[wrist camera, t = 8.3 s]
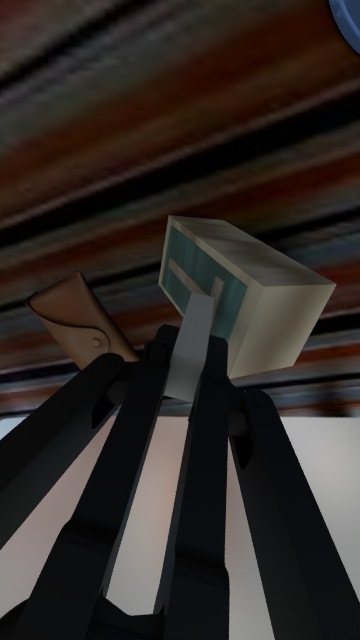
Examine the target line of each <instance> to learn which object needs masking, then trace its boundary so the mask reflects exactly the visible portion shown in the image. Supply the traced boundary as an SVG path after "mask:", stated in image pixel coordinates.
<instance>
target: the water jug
mask: <svg viewBox="0 0 360 640" xmlns="http://www.w3.org/2000/svg"><path fill="white" fill-rule="evenodd" d="M329 4H330V8H331V11H332V14H333V16H334V19H335V21H336V23H337V26H338V28H339V29H340V31H341V33H342V35H343V36H344V38H345V39H346V40H347V42H348V43H349V44H350V45H351V46H352V48H353V49H354V50H355V51H357V52H358V53H359V54H360V0H329Z"/></svg>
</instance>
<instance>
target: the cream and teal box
mask: <svg viewBox="0 0 360 640" xmlns="http://www.w3.org/2000/svg"><path fill="white" fill-rule="evenodd" d="M158 284H159V286H160V287H161V288H162V290H163V291H164V292H165V294H166V295H167V296H168V298H169V299H170V300H171V302H172V303H173V305H174V306H175V307H176V309H177V310H178V311H179V313H180V314H181V315H182V317H183V318H184V315H185V312H186V309H187V306H188V303H189V299H190V296H191V293H192V292H194V293H198V294H202V295H207V296H211V297H215V299H214V306H213V313H212V319H211V326H210V333H209V335H213V336H217V337H221V338H225V340H226V341H227V343H228V368H227V376H228V377H229V379H232V378H236V377H241V376H246V375H251V374H256V373H260V372H265V371H270V370H275V369H280V368H284V367H289V366H293V365H294V363H295V361H296V359H297V357H298V355H299V353H300V352H301V350H302V348H303V346H304V344H305V342H306V340H307V338H308V337H309V335H310V333H311V331H312V329H313V327H314V325H315V324H316V322H317V320H318V318H319V316H320V314H321V312H322V311H323V309H324V307H325V305H326V303H327V301H328V299H329V298H330V296H331V294H332V292H333V290H334V288H335V286H336V284H335V283H334V282H332V281H330V280H328V279H327V278H325V277H323V276H321V275H319V274H318V273H316V272H314V271H312V270H311V269H309V268H307V267H305V266H304V265H302V264H300V263H298V262H297V261H295V260H293V259H291V258H289V257H288V256H286V255H284V254H282V253H281V252H279V251H277V250H275V249H274V248H272V247H270V246H268V245H267V244H265V243H263V242H261V241H259V240H258V239H256V238H254V237H252V236H251V235H249V234H247V233H245V232H244V231H242V230H240V229H238V228H236V227H235V226H233V225H231V224H229V223H228V222H226V221H224V220H216V219H205V218H194V217H183V216H172V215H169V218H168V224H167V231H166V237H165V244H164V250H163V257H162V263H161V270H160V276H159V283H158Z"/></svg>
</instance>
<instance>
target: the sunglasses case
mask: <svg viewBox="0 0 360 640" xmlns="http://www.w3.org/2000/svg"><path fill="white" fill-rule="evenodd" d="M25 303H26V305H27V307H28V308H29V309H30V310H31V311H32V312H33V313H34V314H35V315H36V316H37V317H38V318H39V320H40V321H41V322H42V323H43V325H44V326H45V327H46V329H47V330H48V331H49V332H50V333H51V335H52V336H53V337H54V338H55V340H56V341H57V342H58V343H59V345H60V346H61V347H62V348H63V349H64V350H65V352H66V353H67V354H68V355H69V356H70V357H71V359H72V360H73V361H74V362H75V363H76V364H77V366H78V367H79V368H80V369H81V370H83V369H84V368H85V367H86V366H87V365H88V364H90V363H91V362H92V361H93V360H94V359H95V358H97V357H98V356H99V355H101V354H104V353H116V354H119V355H121V356H122V357H123V358H124V360H125V361H131V362H132V361H139V360H141V359H142V358H141V357H140V356H139V355H138V354H137V353H136V352H135V350H134V349H133V348H132V346H131V345H130V344H129V343H128V342H127V340H126V339H125V337H124V336H123V335H122V333H121V332H120V331H119V329H118V328H117V326H116V325H115V324H114V322H113V321H112V320H111V318H110V317H109V315H108V314H107V313H106V311H105V310H104V309H103V307H102V306H101V304H100V303H99V301H98V300H97V299H96V297H95V296H94V294H93V292H92V291H91V289H90V288H89V286H88V284H87V283H86V280H85V278H84V277H83V276H82V274H81V273H80V272H79V271H74V273H73V274H72V275H71V276H69V277H66V278H65V279H62V280H61V281H59V282H57V283H55V284H54V285H51V286H50V287H48V288H46V289H44V290H42V291H41V292H40V293H38V292H36V293H34V294H33V295H31V296H30V297H28V299H26V301H25Z"/></svg>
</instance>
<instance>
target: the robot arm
mask: <svg viewBox="0 0 360 640" xmlns="http://www.w3.org/2000/svg"><path fill="white" fill-rule="evenodd" d="M214 299H215V297H211V296H207V295H202V294H198V293H194V292H192V293H191V296H190V299H189V303H188V306H187V309H186V312H185V315H184V318H183V321H182V325H181V328H178V327H174V326H170V325H167V324H164V325H162V326H161V327H160V328H159V329H158V331H157V334H156V336H155V338H154V340H152V341H149V342H147V343H146V344H145V346H144V353H143V359H141V360H139V361H132V362H131V361H125V360H124V358H123V357H122V356H121V355H119V354H116V353H104V354H101V355H99V356H98V357H97V358H95V359H94V360H93V361H92V362H91V363H90V364H88V365H87V366H86V367H85V368H84V369H83V370H81V371H80V372H79V373H78V374H77V375H76V376H74V377H73V378H72V379H71V380H70V381H69V382H67V383H66V384H65V385H64V386H63V387H62V388H60V389H59V390H58V391H57V392H56V393H55V394H53V395H52V396H51V397H50V398H49V399H48V400H46V401H45V402H44V403H43V404H42V405H41V406H39V407H38V408H37V409H36V410H35V411H34V412H32V413H31V414H30V415H29V416H28V417H27V418H25V419H24V420H23V421H22V422H21V423H20V424H18V425H17V426H16V427H15V428H14V429H13V430H11V431H10V432H9V433H8V434H7V435H6V436H5V437H3V438H2V439H1V440H0V550H1V549H2V547H3V546H4V545H5V544H6V542H7V541H8V540H9V539H10V538H11V537H12V535H13V534H14V533H15V532H16V531H17V529H18V528H19V527H20V526H21V525H22V523H23V522H24V521H25V520H26V518H27V517H28V516H29V515H30V513H31V512H32V511H33V510H34V509H35V508H36V506H37V505H38V504H39V503H40V502H41V500H42V499H43V498H44V497H45V496H46V494H47V493H48V492H49V491H50V489H51V488H52V487H53V486H54V485H55V483H56V482H57V481H58V480H59V479H60V477H61V476H62V475H63V474H64V472H65V471H66V470H67V469H68V467H70V465H71V464H72V463H73V462H74V460H75V459H76V458H77V457H78V455H79V454H80V453H81V452H82V451H83V450H84V448H85V447H86V446H87V445H88V444H89V442H90V441H91V440H92V439H93V437H94V436H95V435H96V433H98V431H99V430H100V429H101V428H102V427H103V425H104V424H105V423H106V422H107V421H108V419H109V418H110V417H111V416H112V415H113V413H114V412H115V411H116V410H117V409H118V407H119V406H120V404H122V406H121V408H120V410H119V413H118V415H117V417H116V419H115V422H114V424H113V426H112V428H111V430H110V433H109V435H108V437H107V440H106V442H105V444H104V446H103V448H102V451H101V453H100V455H99V457H98V459H97V462H96V464H95V466H94V469H93V471H92V473H91V475H90V477H89V480H88V482H87V484H86V486H85V488H84V491H83V493H82V495H81V497H80V500H79V502H78V504H77V506H76V508H75V511H74V513H73V515H72V517H71V519H70V520H69V521H68V522H67V523H66V524H65V525H64V526H63V528H62V529H61V531H60V533H59V535H58V537H57V539H56V541H55V543H54V545H53V548H52V550H51V552H50V554H49V556H48V558H47V560H46V563H45V565H44V567H43V569H42V571H41V573H40V575H39V578H38V580H37V582H36V585H35V586H34V588H33V591H32V593H31V595H30V597H29V598H28V599H27V600H25V601H23V602H21V603H20V604H19V605H17V606H15V607H14V608H13V609H11V610H10V611H9V612H7V613H6V614H5V615H4V616H3V617H1V619H0V640H229V597H230V596H229V595H230V594H229V593H230V591H229V590H230V589H229V575H228V572H227V569H226V567H225V561H224V559H225V557H224V555H225V522H226V521H225V520H226V490H227V489H226V488H227V457H228V438H229V441H230V446H231V450H232V455H233V459H234V464H235V468H236V472H237V476H238V481H239V485H240V490H241V494H242V498H243V502H244V507H245V512H246V516H247V520H248V525H249V529H250V533H251V537H252V542H253V546H254V550H255V555H256V559H257V564H258V568H259V572H260V577H261V581H262V585H263V589H264V594H265V598H266V603H267V607H268V612H269V616H270V620H271V625H272V629H273V633H274V638H275V640H360V602H359V600H358V598H357V595H356V593H355V591H354V589H353V586H352V584H351V582H350V579H349V577H348V574H347V572H346V570H345V568H344V565H343V563H342V561H341V558H340V556H339V554H338V551H337V549H336V547H335V544H334V542H333V540H332V537H331V535H330V533H329V530H328V528H327V526H326V523H325V521H324V519H323V516H322V514H321V512H320V509H319V507H318V505H317V503H316V500H315V498H314V496H313V493H312V491H311V489H310V486H309V484H308V482H307V479H306V477H305V475H304V472H303V470H302V468H301V466H300V463H299V461H298V458H297V456H296V454H295V452H294V449H293V447H292V445H291V442H290V440H289V438H288V435H287V433H286V431H285V428H284V426H283V424H282V421H281V419H280V417H279V414H278V412H277V410H276V407H275V405H274V403H273V401H272V399H271V398H270V396H269V395H267V394H266V393H265V392H263V391H261V390H258V389H249V390H247V391H246V392H244V391H242V390H240V389H238V388H237V387H235V386H234V385H233V384H232V383H231V382H230V380H229V377H228V376H227V368H228V343H227V341H226V340H225V338H221V337H217V336H213V335H209V333H210V326H211V319H212V313H213V306H214ZM163 395H166V396H169V397H173V398H177V399H181V400H184V401H188V402H192V403H193V405H192V409H191V412H190V415H189V418H188V421H189V424H188V429H187V435H186V440H185V446H184V451H183V457H182V463H181V468H180V474H179V479H178V485H177V491H176V496H175V502H174V508H173V513H172V518H171V524H170V530H169V535H168V541H167V546H166V552H165V557H164V563H163V569H162V574H161V579H160V584H159V588H158V592H157V597H156V601H155V605H154V610H153V614H148V615H135V616H130V615H127V614H126V613H124V612H123V611H122V610H120V609H119V608H118V607H117V606H115V605H114V604H112V603H111V602H110V601H109V600H108V599H106V595H107V591H108V588H109V584H110V580H111V576H112V572H113V568H114V565H115V561H116V558H117V554H118V551H119V547H120V544H121V541H122V537H123V534H124V530H125V527H126V523H127V520H128V517H129V513H130V510H131V506H132V503H133V499H134V496H135V493H136V489H137V486H138V482H139V479H140V476H141V472H142V469H143V465H144V462H145V459H146V455H147V451H148V448H149V445H150V441H151V438H152V435H153V431H154V428H155V424H156V421H157V417H158V414H159V411H160V407H161V404H162V399H163Z"/></svg>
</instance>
